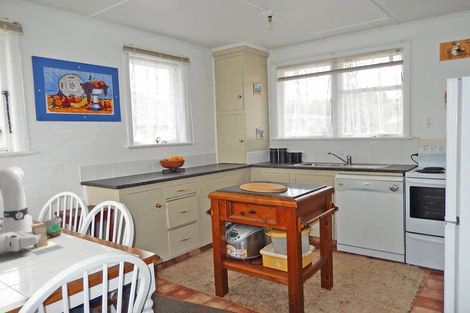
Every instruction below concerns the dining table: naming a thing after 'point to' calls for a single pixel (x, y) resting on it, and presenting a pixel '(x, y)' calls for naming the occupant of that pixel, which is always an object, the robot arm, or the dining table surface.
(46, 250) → the board
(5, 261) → the dining table surface
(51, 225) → the food container
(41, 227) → the birch block
